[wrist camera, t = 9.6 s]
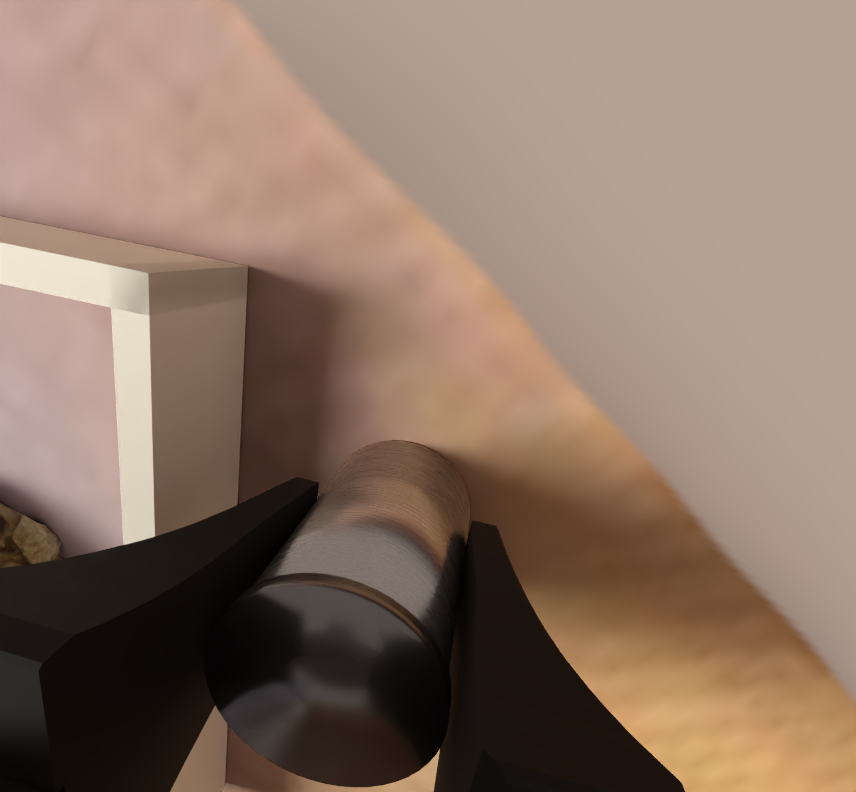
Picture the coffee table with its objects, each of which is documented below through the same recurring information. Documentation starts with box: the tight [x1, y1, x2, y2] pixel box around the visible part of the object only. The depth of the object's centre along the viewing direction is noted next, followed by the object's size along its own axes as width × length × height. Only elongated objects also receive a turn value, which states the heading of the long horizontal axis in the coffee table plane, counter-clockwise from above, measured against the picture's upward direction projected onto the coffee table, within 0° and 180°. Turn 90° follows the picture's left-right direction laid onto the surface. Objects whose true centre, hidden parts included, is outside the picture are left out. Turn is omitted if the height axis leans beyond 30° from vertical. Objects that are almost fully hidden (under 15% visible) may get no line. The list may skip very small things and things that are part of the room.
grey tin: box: [204, 440, 470, 787], centre depth 10 cm, size 4×4×6 cm
